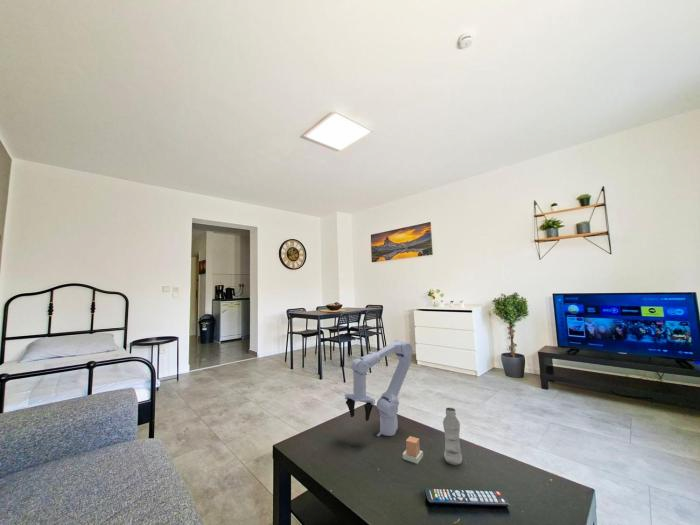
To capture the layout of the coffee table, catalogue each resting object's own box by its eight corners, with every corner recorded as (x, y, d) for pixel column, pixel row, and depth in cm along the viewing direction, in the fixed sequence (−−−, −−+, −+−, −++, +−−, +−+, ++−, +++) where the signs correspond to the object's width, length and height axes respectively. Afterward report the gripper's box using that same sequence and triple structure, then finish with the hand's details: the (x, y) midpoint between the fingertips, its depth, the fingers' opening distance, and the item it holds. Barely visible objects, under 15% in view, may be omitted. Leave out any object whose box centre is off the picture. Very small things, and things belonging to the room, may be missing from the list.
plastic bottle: (441, 464, 107) (438, 409, 110) (449, 456, 112) (446, 404, 115) (458, 471, 103) (454, 414, 105) (465, 463, 108) (461, 408, 110)
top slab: (408, 451, 114) (408, 446, 114) (423, 456, 111) (422, 451, 111) (402, 458, 109) (402, 453, 109) (417, 464, 106) (417, 458, 106)
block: (410, 449, 112) (409, 436, 113) (419, 452, 110) (419, 438, 111) (406, 454, 109) (406, 440, 110) (416, 457, 107) (415, 443, 107)
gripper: (341, 386, 127) (341, 418, 126) (370, 391, 120) (370, 425, 118) (349, 382, 133) (349, 412, 132) (376, 387, 126) (377, 419, 124)
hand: (359, 418), depth 125 cm, fingers open, 7 cm apart
